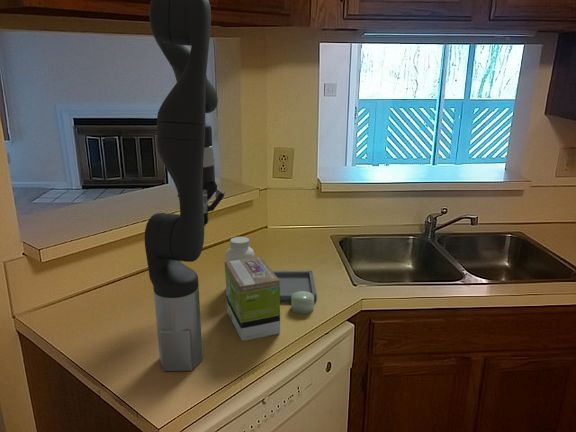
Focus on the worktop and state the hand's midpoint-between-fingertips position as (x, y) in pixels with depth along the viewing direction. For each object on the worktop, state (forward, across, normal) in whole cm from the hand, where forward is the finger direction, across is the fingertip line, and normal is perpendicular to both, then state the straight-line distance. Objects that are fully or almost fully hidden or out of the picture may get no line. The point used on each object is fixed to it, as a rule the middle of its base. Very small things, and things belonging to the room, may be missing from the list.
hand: (203, 225), depth 134 cm
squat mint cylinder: (+20, +27, -12) cm, 35 cm away
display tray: (+19, +23, 0) cm, 30 cm away
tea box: (+20, +14, -19) cm, 31 cm away
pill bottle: (+20, +10, 0) cm, 22 cm away
